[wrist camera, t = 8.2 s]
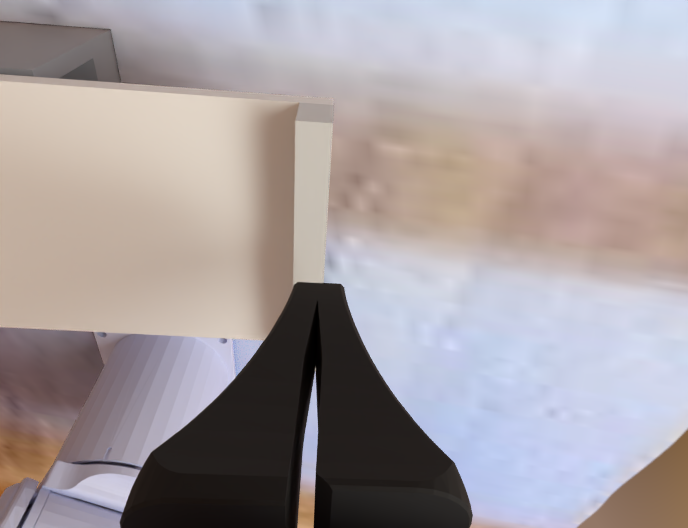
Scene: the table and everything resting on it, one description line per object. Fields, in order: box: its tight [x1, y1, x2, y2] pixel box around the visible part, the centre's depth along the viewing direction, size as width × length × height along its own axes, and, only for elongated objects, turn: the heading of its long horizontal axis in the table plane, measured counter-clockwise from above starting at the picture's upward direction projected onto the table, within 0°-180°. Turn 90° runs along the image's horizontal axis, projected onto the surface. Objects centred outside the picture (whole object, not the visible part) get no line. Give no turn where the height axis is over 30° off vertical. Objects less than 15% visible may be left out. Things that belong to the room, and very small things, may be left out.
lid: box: [0, 74, 334, 371], centre depth 16 cm, size 10×14×2 cm
